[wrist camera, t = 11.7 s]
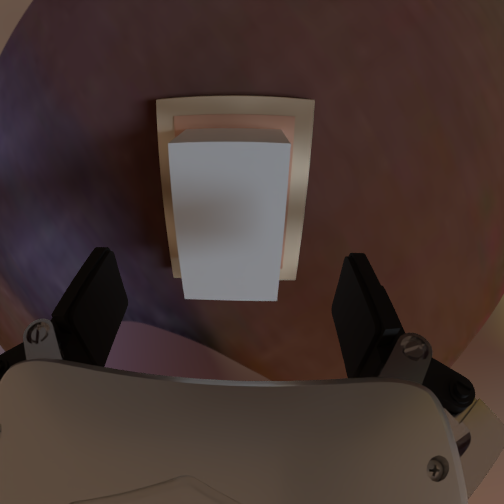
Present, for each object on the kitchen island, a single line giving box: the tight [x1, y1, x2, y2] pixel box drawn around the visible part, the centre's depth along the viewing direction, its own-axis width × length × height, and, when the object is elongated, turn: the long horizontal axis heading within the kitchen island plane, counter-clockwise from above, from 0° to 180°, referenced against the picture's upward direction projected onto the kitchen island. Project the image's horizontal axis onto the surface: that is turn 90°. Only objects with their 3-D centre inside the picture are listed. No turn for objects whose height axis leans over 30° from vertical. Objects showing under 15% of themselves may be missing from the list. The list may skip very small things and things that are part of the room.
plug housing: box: [168, 128, 291, 301], centre depth 18 cm, size 10×6×4 cm, turn 178°
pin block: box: [156, 95, 315, 280], centre depth 19 cm, size 14×10×4 cm
